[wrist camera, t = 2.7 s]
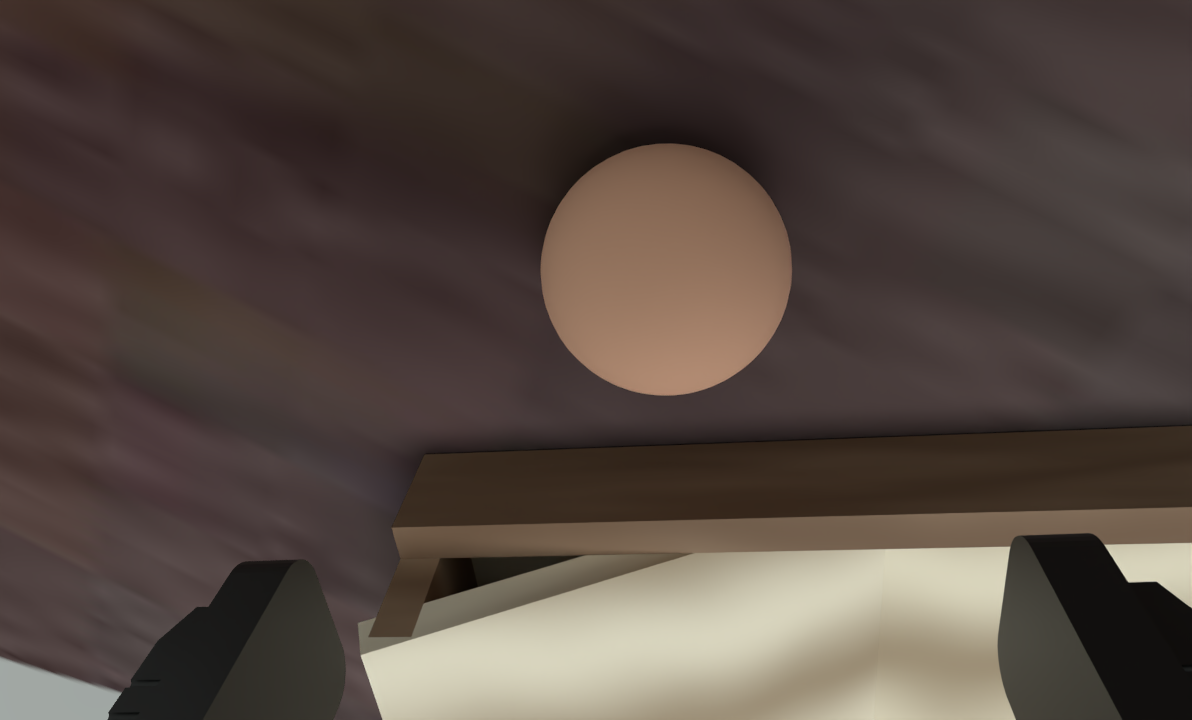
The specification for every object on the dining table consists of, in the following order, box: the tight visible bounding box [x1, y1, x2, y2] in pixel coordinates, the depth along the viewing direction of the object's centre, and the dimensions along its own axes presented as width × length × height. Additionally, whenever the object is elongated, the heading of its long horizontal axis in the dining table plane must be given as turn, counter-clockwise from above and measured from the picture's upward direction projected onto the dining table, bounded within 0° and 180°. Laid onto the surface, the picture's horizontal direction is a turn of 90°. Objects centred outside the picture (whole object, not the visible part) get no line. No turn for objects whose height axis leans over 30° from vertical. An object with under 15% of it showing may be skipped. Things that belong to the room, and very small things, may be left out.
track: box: [358, 426, 1192, 720], centre depth 21 cm, size 12×35×6 cm, turn 96°
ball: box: [541, 143, 792, 395], centre depth 17 cm, size 5×5×5 cm
